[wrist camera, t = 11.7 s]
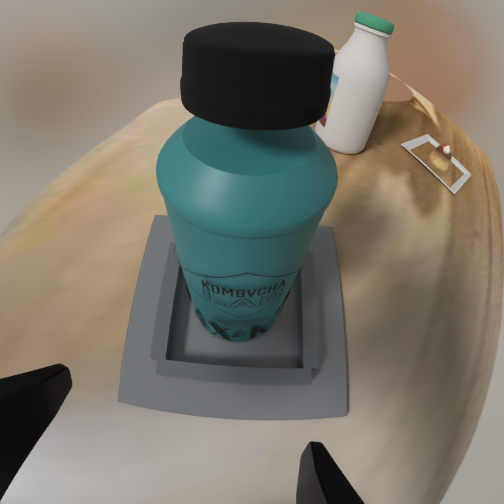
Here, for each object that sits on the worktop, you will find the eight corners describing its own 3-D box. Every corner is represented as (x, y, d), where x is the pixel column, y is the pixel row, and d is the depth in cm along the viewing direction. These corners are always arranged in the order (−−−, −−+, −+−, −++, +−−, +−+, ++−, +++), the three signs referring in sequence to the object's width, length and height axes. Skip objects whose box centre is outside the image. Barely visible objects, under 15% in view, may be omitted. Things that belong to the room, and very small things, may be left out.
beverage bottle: (187, 287, 23) (125, 25, 6) (261, 266, 24) (308, 14, 7) (210, 360, 20) (104, 94, 3) (289, 334, 21) (441, 88, 4)
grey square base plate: (344, 415, 18) (354, 416, 17) (119, 401, 18) (110, 400, 16) (331, 230, 28) (336, 218, 26) (155, 218, 27) (151, 205, 25)
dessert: (424, 137, 43) (434, 119, 39) (469, 179, 38) (481, 161, 34) (398, 149, 39) (408, 127, 34) (450, 198, 34) (466, 178, 30)
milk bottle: (371, 144, 37) (413, 31, 20) (349, 163, 34) (397, 27, 17) (330, 120, 39) (359, 9, 22) (303, 135, 36) (332, 4, 19)
